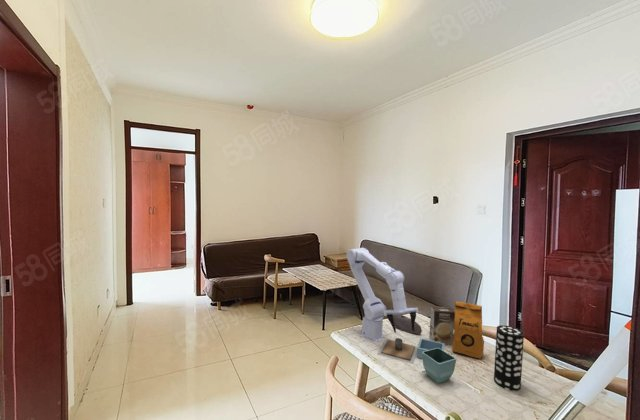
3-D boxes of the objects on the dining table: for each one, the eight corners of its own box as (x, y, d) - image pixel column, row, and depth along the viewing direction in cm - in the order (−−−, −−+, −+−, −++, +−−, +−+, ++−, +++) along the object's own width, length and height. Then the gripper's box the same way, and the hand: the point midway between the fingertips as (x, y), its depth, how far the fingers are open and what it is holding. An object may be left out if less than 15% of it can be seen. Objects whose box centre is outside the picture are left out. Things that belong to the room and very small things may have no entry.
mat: (376, 355, 124) (376, 354, 124) (385, 339, 138) (385, 339, 138) (413, 364, 118) (413, 363, 118) (418, 347, 131) (418, 347, 131)
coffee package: (482, 362, 121) (485, 310, 119) (450, 353, 127) (452, 303, 126) (484, 352, 129) (486, 303, 128) (453, 343, 136) (455, 297, 134)
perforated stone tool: (423, 335, 144) (424, 321, 143) (418, 338, 140) (419, 324, 140) (397, 324, 155) (397, 311, 154) (391, 327, 151) (392, 314, 151)
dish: (416, 358, 122) (417, 348, 122) (420, 347, 131) (420, 338, 131) (442, 365, 118) (442, 354, 118) (444, 353, 127) (444, 343, 126)
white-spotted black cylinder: (521, 394, 101) (524, 338, 100) (493, 385, 106) (496, 331, 105) (520, 381, 108) (523, 329, 107) (494, 374, 113) (496, 323, 112)
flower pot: (420, 374, 112) (421, 351, 111) (437, 369, 115) (438, 347, 115) (438, 388, 103) (439, 363, 103) (455, 382, 107) (457, 358, 107)
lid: (381, 353, 125) (381, 342, 125) (387, 341, 136) (388, 331, 135) (410, 361, 120) (410, 349, 119) (414, 347, 130) (415, 337, 130)
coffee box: (432, 345, 134) (434, 310, 133) (428, 338, 140) (430, 305, 139) (453, 346, 133) (455, 312, 132) (448, 339, 139) (450, 306, 138)
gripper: (381, 302, 126) (387, 335, 124) (416, 299, 123) (422, 332, 121) (382, 299, 133) (387, 330, 131) (415, 296, 130) (420, 328, 128)
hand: (404, 331), depth 127 cm, fingers open, 7 cm apart
